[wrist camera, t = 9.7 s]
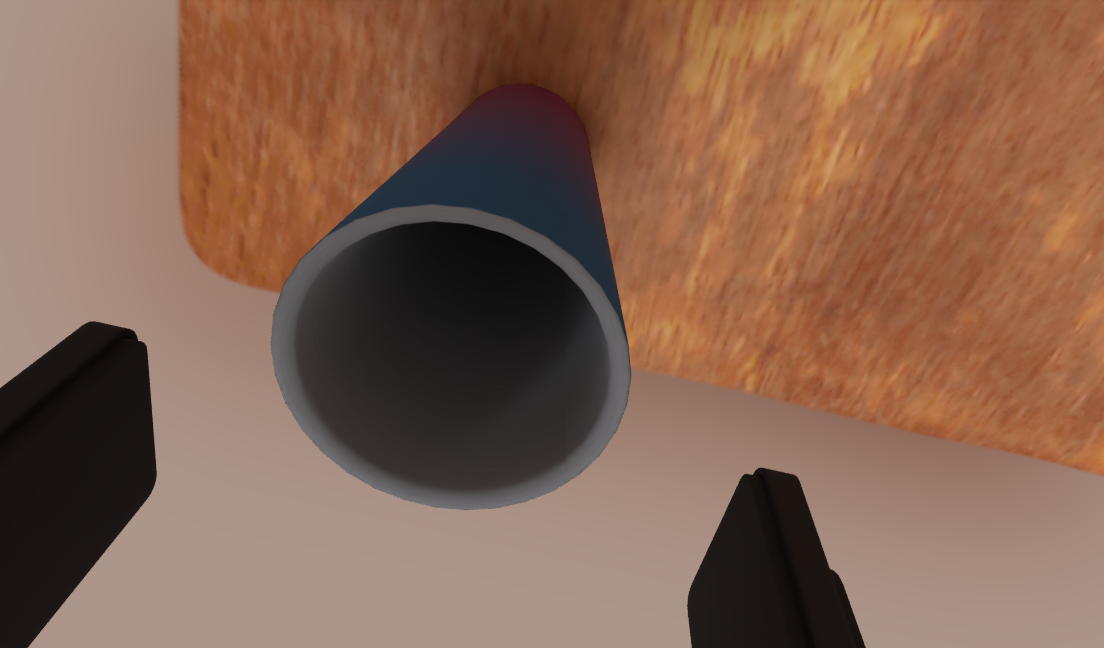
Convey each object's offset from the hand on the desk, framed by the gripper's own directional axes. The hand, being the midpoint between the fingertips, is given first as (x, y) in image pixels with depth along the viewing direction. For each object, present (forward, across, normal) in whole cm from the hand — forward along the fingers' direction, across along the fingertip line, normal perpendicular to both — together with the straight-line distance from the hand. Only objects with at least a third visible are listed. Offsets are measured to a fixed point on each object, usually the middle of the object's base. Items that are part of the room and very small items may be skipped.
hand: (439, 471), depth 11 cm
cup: (+18, +1, 0) cm, 18 cm away
